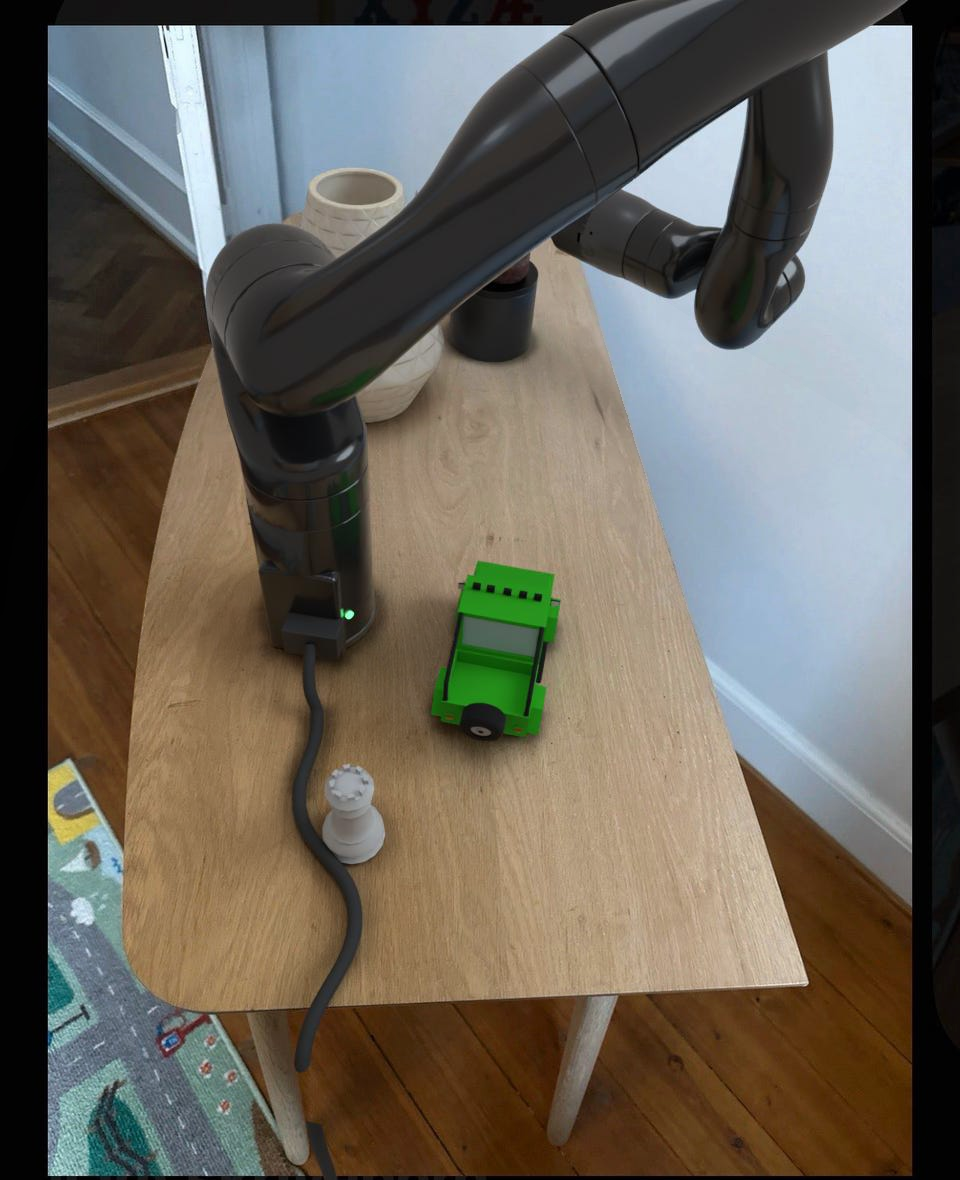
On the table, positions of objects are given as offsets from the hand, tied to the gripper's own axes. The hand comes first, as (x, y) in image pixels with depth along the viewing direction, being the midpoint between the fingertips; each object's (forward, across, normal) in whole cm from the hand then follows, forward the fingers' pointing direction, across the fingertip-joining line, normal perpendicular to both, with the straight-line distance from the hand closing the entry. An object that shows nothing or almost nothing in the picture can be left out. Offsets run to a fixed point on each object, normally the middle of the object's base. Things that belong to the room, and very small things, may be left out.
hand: (483, 170), depth 95 cm
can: (-4, 0, +10) cm, 11 cm away
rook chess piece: (-41, +55, +19) cm, 71 cm away
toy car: (-39, +37, +19) cm, 57 cm away
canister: (-3, 0, +19) cm, 19 cm away
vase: (-2, +19, +19) cm, 27 cm away
